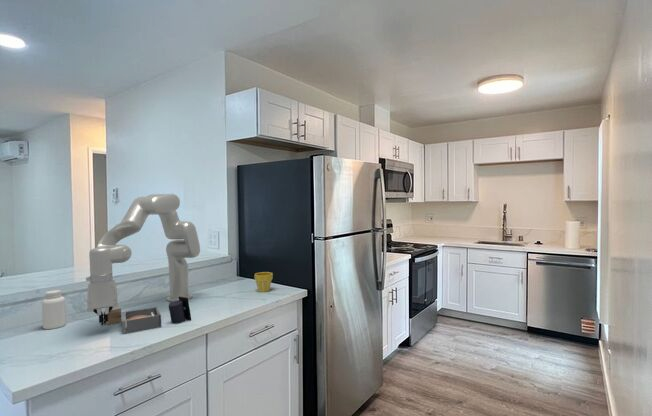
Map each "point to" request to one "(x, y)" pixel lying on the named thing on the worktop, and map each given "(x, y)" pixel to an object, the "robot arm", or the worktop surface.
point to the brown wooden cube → (114, 316)
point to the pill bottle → (53, 310)
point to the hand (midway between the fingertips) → (103, 323)
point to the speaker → (179, 310)
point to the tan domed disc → (138, 317)
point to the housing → (143, 320)
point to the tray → (127, 319)
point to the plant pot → (263, 281)
